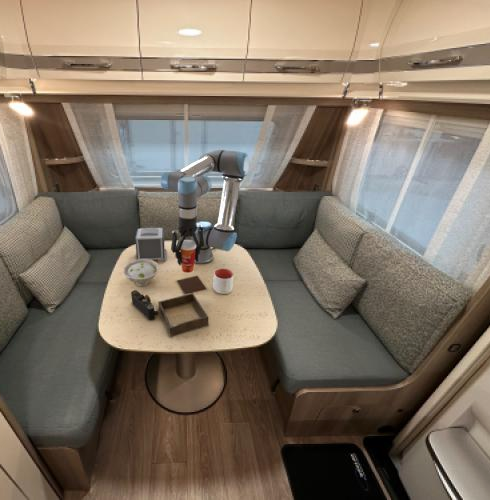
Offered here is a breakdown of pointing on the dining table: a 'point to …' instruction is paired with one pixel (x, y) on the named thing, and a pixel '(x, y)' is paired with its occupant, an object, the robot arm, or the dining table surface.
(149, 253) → the grey speaker box
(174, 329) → the wooden tray
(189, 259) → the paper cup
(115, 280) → the dining table surface
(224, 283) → the cup
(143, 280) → the bowl
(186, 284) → the coaster mat
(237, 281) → the dining table surface
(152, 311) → the camera
